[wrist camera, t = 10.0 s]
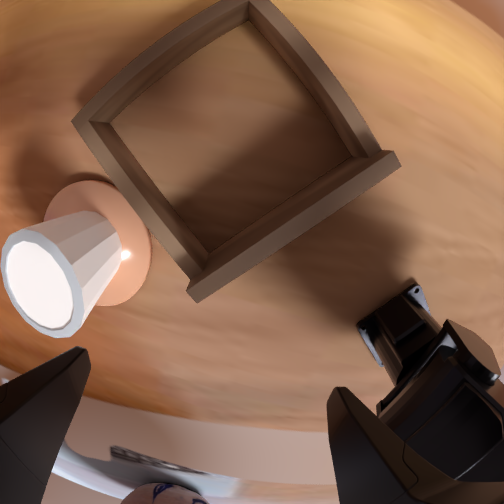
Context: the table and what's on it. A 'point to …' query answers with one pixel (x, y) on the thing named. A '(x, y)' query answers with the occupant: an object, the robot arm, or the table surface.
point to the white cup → (60, 270)
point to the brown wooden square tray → (280, 218)
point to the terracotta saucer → (125, 223)
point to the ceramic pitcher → (163, 495)
